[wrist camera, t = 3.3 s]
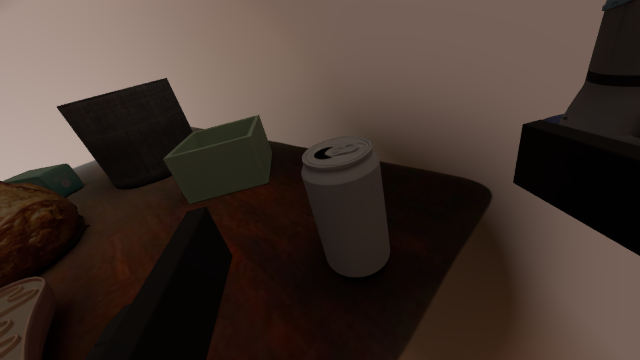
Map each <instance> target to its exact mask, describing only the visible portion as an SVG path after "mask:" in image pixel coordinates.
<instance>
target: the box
mask: <svg viewBox="0 0 640 360" xmlns="http://www.w3.org/2000/svg"><path fill="white" fill-rule="evenodd" d="M2 182H6V183H15V184H19V183H31V184H35V185H38V186H41V187H44V188H46V189H49V190H52V191H54V192H56V193H58V194H60V195H61V196H63V197H67V196H68V195H70V194H72V193H73V192H75V191H77V190H79V189H80V188H82V187H84V184H83V183H82V181H81V180H80V178H79V177H78V176H77V174H76V173H75V172H74V171H73V169H72V168H71V167H70V166H69V165H68V164H61V165H55V166H51V167H45V168H40V169H35V170H29V171H27V172H24V173H22V174H19V175H17V176H14V177H12V178H9V179H7V180H5V181H2Z"/></svg>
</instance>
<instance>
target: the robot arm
mask: <svg viewBox="0 0 640 360" xmlns="http://www.w3.org/2000/svg"><path fill="white" fill-rule="evenodd" d="M602 11H605V12H604V15H603V18H602V22H601V26H600V29H599V33H598V36H597V40H596V44H595V47H594V50H593V54H592V58H591V61H590V65H589V69H588V73H587V76H586V80H585V83H584V85H583V87H582V89H581V90H580V91H579V93H578V94H577V96H576V97H575V99H574V100H573V102H572V103H571V105H570V106H569V107H568V109H567V111H566V113H565V114H564V115H563V116H562V118H561V119H560V121H559V124H556V123H552V122H548V121H545V120H538V121H534V122H530V123H526V124H523V127H522V133H521V138H520V144H519V151H518V157H517V162H516V168H515V175H514V181H513V183H515V184H516V185H518V186H520V187H522V188H523V189H525V190H527V191H529V192H530V193H532V194H534V195H535V196H538V197H539V198H541V199H542V200H544V201H546V202H548V203H549V204H551V205H553V206H554V207H556V208H558V209H560V210H561V211H563V212H565V213H567V214H568V215H570V216H572V217H573V218H575V219H577V220H579V221H580V222H582V223H584V224H586V225H587V226H589V227H591V228H592V229H594V230H596V231H598V232H600V233H601V234H603V235H605V236H606V237H608V238H610V239H611V240H613V241H615V242H617V243H619V244H620V245H622V246H624V247H625V248H627V249H629V250H631V251H633V252H634V253H636V254H638V255H639V256H640V0H607V1H606V4H605V5H604V6H603V7H602ZM231 260H232V254H231V252H230V250H229V248H228V247H227V245H226V243H225V241H224V239H223V237H222V235H221V234H220V232H219V230H218V228H217V226H216V224H215V222H214V220H213V219H212V217H211V215H210V213H209V211H208V209H207V207H203V208H199V209H195V210H191V211H187V213H186V215H185V216H184V218H183V220H182V221H181V223H180V225H179V226H178V228H177V230H176V231H175V233H174V235H173V236H172V238H171V239H170V241H169V243H168V244H167V246H166V248H165V249H164V251H163V253H162V254H161V256H160V258H159V259H158V261H157V263H156V264H155V266H154V268H153V269H152V271H151V273H150V274H149V276H148V277H147V279H146V281H145V282H144V284H143V286H142V287H141V289H140V291H139V292H138V294H137V296H136V297H135V299H134V301H133V302H132V304H129V305H126V306H124V307H123V309H122V310H121V311H120V312H119V313H118V314H117V315H116V316H115V317H114V318H113V319H112V320H111V321H110V322H109V323H108V324H107V326H106V327H105V329H104V331H103V332H102V334H101V335H100V337H99V338H98V340H97V341H96V343H95V344H94V345H95V347H94V348H93V349H91V351H90V352H89V354H88V355H87V357H86V358H85V360H206V358H207V354H208V350H209V346H210V342H211V338H212V334H213V331H214V327H215V323H216V319H217V315H218V311H219V307H220V303H221V299H222V295H223V291H224V287H225V283H226V280H227V276H228V272H229V268H230V264H231Z"/></svg>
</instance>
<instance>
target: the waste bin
mask: <svg viewBox="0 0 640 360" xmlns="http://www.w3.org/2000/svg"><path fill="white" fill-rule="evenodd" d="M271 159H272V151H271V148H270V145H269V142H268V140H267V137H266V134H265V131H264V128H263V125H262V123H261V119H260V117H259V115H258V116H253V117H249V118H246V119H242V120H238V121H234V122H230V123H227V124H223V125H219V126H215V127H211V128H208V129H204V130H200V131H196V132H192V133H191V134H190V135H189V136H188V137H187V138H186V139H185V140H184V141H182V142H181V143H180V144H179V145H178V146H177V147H176V148H175V149H174V150H172V151H171V152H170V153H169V154H168V155H167V156H166V157H165V158H164V159H163V160H164V162H165V163H166V165H167V167H168V169H169V170H170V172H171V174H172V175H173V177H174V179H175V181H176V182H177V184H178V186H179V187H180V189H181V191H182V193H183V194H184V196H185V198H186V199H187V201H188V203H189V204H191V203H195V202H199V201H203V200H206V199H210V198H214V197H218V196H221V195H225V194H229V193H233V192H237V191H240V190H244V189H248V188H252V187H255V186H259V185H263V184H267V183H269V176H270V167H271Z"/></svg>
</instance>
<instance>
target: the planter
mask: <svg viewBox="0 0 640 360" xmlns="http://www.w3.org/2000/svg"><path fill="white" fill-rule="evenodd" d="M57 108H58V110H59V111H60V112H61V114H62V115H63V116H64V118H65V119H66V121H67V122H68V123H69V125H70V126H71V127H72V129H73V130H74V131H75V133H76V134H77V135H78V137H79V138H80V139H81V141H82V142H83V143H84V145H85V146H86V148H87V149H88V150H89V152H90V153H91V154H92V156H93V157H94V158H95V160H96V161H97V162H98V164H99V165H100V166H101V168H102V169H103V170H104V172H105V173H106V174H107V176H108V177H109V178H110V180H111V181H112V183H113V184H114V185H115V187H117V188H132V187H137V186H141V185H145V184H148V183H151V182H154V181H157V180H160V179H162V178H165V177H167V176H169V175H171V172H170V170H169V169H168V167H167V165H166V163H165V162H164V160H163V159H164V158H165V157H166V156H167V155H168V154H169V153H170V152H171V151H172V150H174V149H175V148H176V147H177V146H178V145H179V144H180V143H181V142H182V141H184V140H185V139H186V138H187V137H188V136H189V135H190V134H191V133H192V129H191V127H190V125H189V123H188V121H187V119H186V117H185V115H184V113H183V111H182V109H181V107H180V105H179V102H178V101H177V99H176V96H175V94H174V92H173V90H172V88H171V86H170V84H169V82H168V80H167V78H165V79H160V80H156V81H152V82H149V83H145V84H141V85H137V86H133V87H129V88H125V89H122V90H118V91H114V92H110V93H106V94H102V95H98V96H94V97H91V98H87V99H83V100H79V101H76V102H72V103H68V104H64V105H61V106H57Z"/></svg>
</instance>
